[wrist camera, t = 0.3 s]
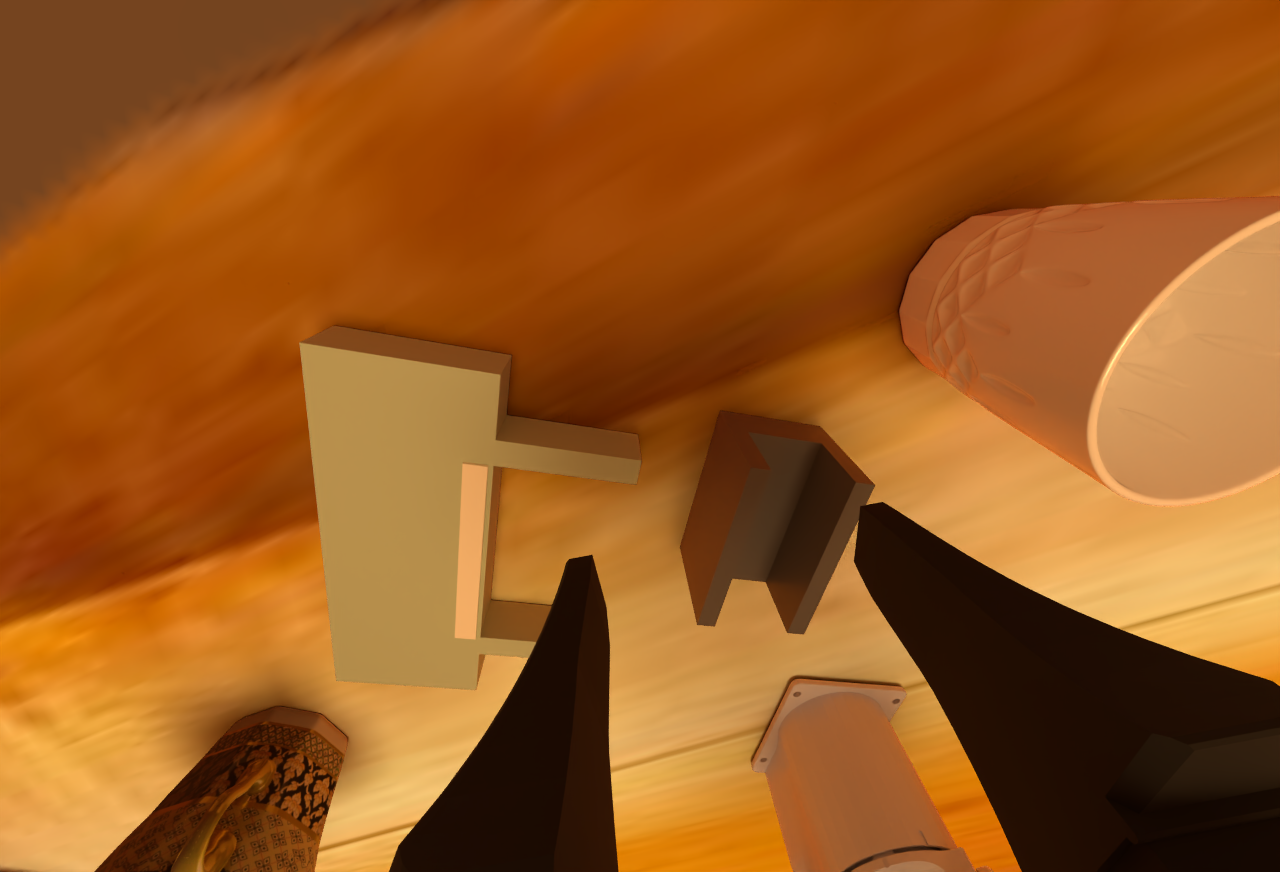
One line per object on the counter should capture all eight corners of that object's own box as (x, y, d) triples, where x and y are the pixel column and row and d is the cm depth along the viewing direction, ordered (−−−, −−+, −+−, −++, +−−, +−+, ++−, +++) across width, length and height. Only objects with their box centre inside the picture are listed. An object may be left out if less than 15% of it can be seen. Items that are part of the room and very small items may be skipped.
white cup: (851, 359, 22) (1026, 475, 13) (947, 165, 18) (1271, 139, 10) (997, 400, 23) (1245, 530, 14) (1110, 227, 20) (1523, 255, 11)
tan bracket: (589, 659, 29) (587, 700, 27) (358, 640, 27) (334, 683, 25) (650, 378, 21) (656, 401, 19) (334, 325, 20) (297, 343, 17)
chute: (767, 554, 27) (803, 634, 22) (679, 544, 26) (697, 624, 21) (818, 424, 23) (875, 485, 18) (719, 408, 23) (751, 467, 18)
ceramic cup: (361, 796, 34) (274, 1013, 25) (199, 771, 31) (38, 1001, 22) (401, 676, 29) (310, 894, 20) (212, 636, 26) (12, 862, 17)
